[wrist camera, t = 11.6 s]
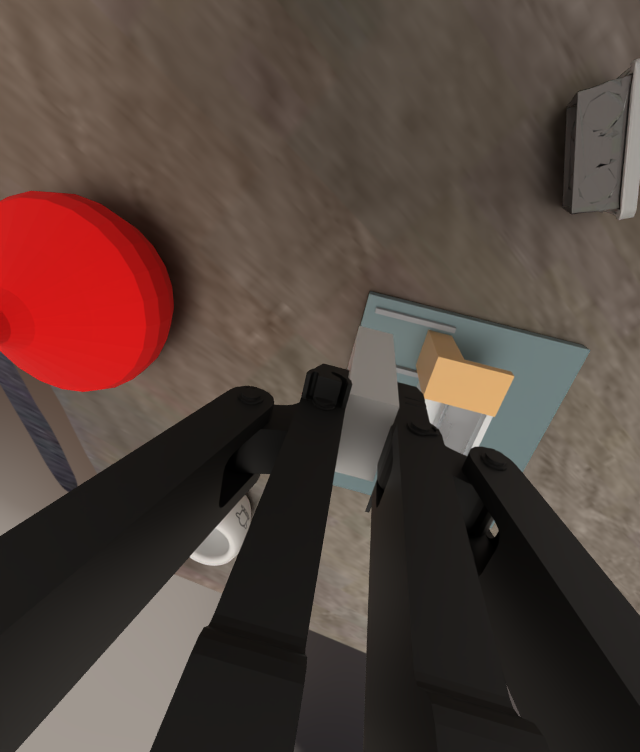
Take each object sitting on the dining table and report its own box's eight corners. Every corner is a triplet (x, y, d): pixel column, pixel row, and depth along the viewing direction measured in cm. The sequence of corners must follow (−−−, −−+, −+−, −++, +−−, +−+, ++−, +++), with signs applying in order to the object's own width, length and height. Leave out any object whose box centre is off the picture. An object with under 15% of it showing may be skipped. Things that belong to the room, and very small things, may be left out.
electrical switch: (608, 209, 34) (666, 213, 26) (542, 220, 36) (577, 227, 28) (619, 82, 31) (689, 41, 23) (545, 100, 32) (586, 68, 24)
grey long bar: (461, 364, 35) (464, 369, 34) (494, 372, 35) (498, 377, 34) (398, 518, 43) (398, 526, 42) (425, 525, 43) (426, 533, 42)
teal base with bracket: (369, 291, 40) (367, 313, 32) (583, 345, 39) (636, 382, 31) (319, 473, 50) (307, 525, 42) (488, 519, 49) (509, 581, 41)
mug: (267, 519, 55) (250, 566, 48) (213, 526, 57) (189, 572, 50) (235, 447, 51) (211, 488, 43) (179, 458, 53) (147, 498, 46)
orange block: (428, 329, 39) (438, 356, 32) (491, 345, 39) (514, 376, 32) (415, 365, 41) (422, 397, 34) (475, 380, 41) (495, 417, 34)
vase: (222, 246, 40) (102, 279, 23) (171, 385, 48) (53, 488, 31) (57, 158, 39) (-199, 123, 22) (32, 315, 47) (-172, 381, 30)
